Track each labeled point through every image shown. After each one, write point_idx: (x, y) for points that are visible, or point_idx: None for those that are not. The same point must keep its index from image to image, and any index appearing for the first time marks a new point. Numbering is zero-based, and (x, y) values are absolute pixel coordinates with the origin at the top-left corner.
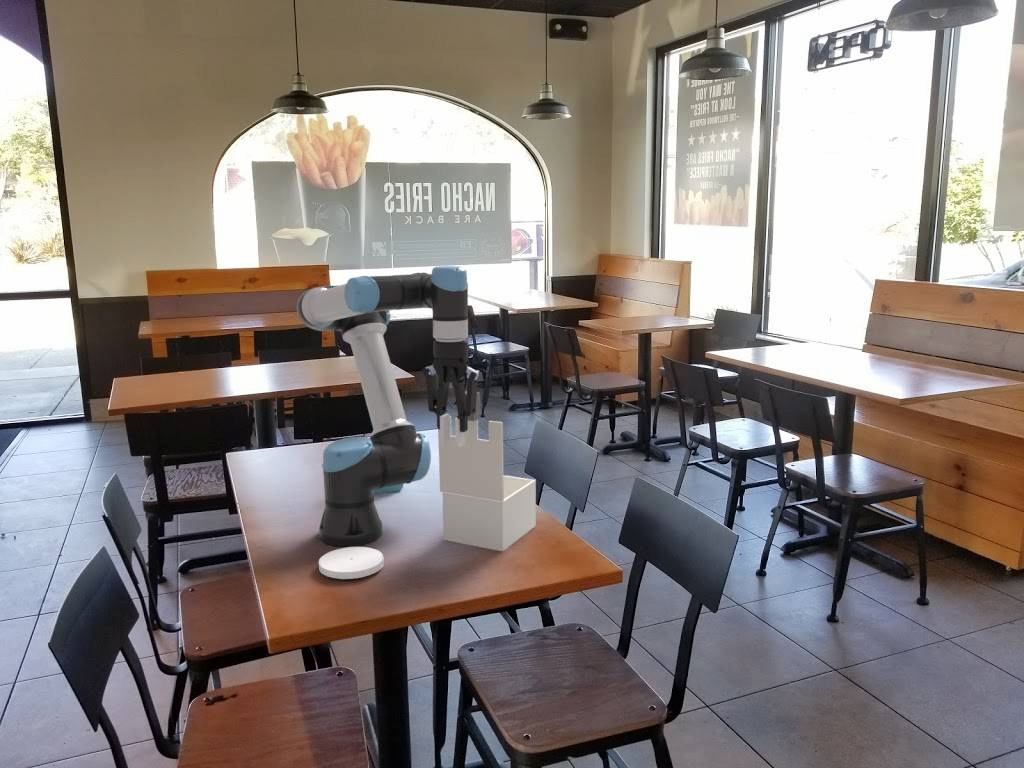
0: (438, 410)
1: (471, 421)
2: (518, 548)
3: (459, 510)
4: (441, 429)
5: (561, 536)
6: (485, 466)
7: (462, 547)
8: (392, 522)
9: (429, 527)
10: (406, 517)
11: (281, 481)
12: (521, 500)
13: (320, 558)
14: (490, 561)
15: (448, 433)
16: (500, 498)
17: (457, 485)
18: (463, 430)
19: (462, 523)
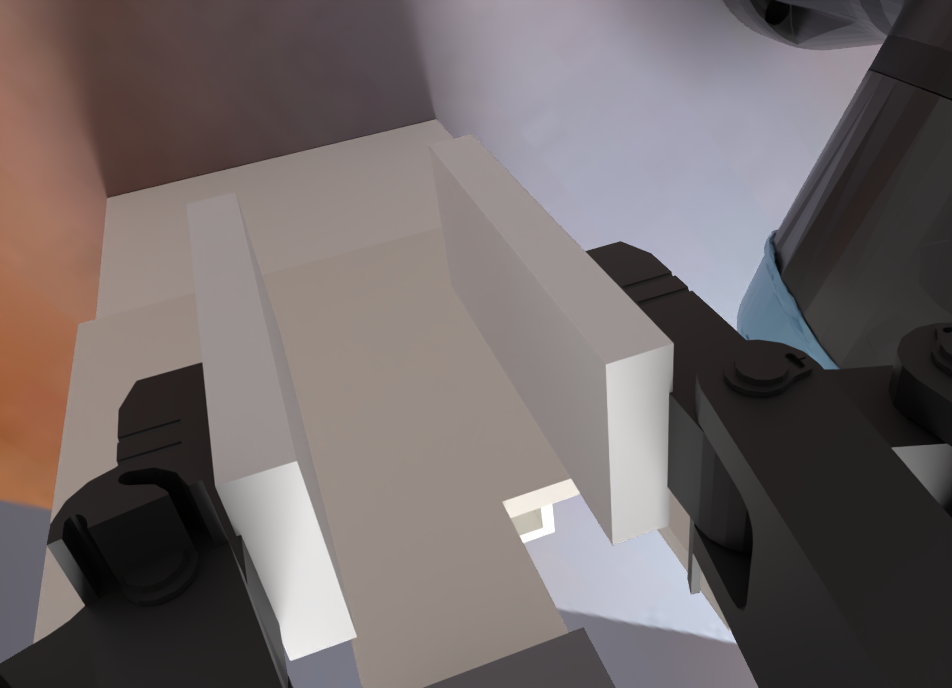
0: (780, 413)
1: None
2: (81, 272)
3: (385, 205)
4: (533, 230)
5: (47, 477)
6: None
7: (302, 110)
8: (743, 122)
9: (578, 184)
10: (720, 199)
11: None
12: None
13: None
14: (51, 64)
15: (488, 328)
16: (92, 329)
17: (426, 260)
18: (142, 397)
19: (353, 182)
